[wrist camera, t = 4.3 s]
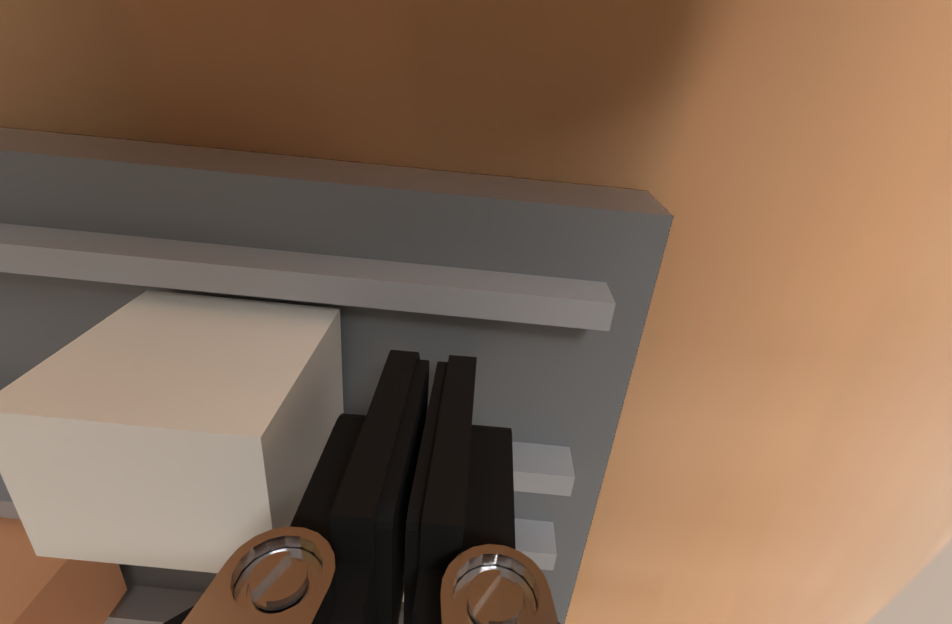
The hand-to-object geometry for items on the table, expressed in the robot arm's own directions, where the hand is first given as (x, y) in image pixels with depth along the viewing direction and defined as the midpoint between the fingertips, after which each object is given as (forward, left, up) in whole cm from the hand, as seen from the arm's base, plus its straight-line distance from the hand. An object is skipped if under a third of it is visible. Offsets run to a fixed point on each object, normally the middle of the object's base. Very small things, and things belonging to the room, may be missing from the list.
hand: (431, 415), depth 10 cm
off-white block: (0, -4, -1) cm, 4 cm away
